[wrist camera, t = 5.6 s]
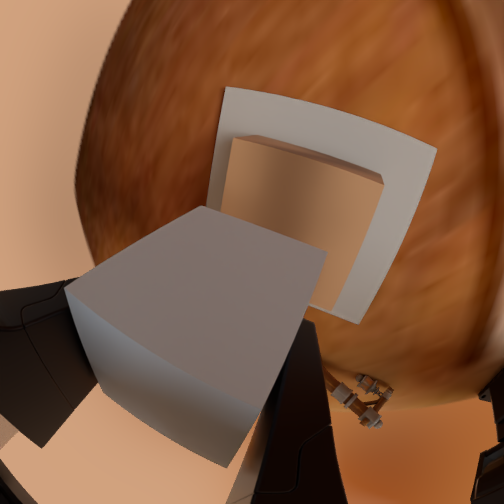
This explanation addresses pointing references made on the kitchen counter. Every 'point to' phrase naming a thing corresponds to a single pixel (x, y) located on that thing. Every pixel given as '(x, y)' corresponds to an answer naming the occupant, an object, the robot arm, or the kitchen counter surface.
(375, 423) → the wooden post with brackets
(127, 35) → the kitchen counter surface
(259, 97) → the build mat
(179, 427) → the grey block
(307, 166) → the plinth
